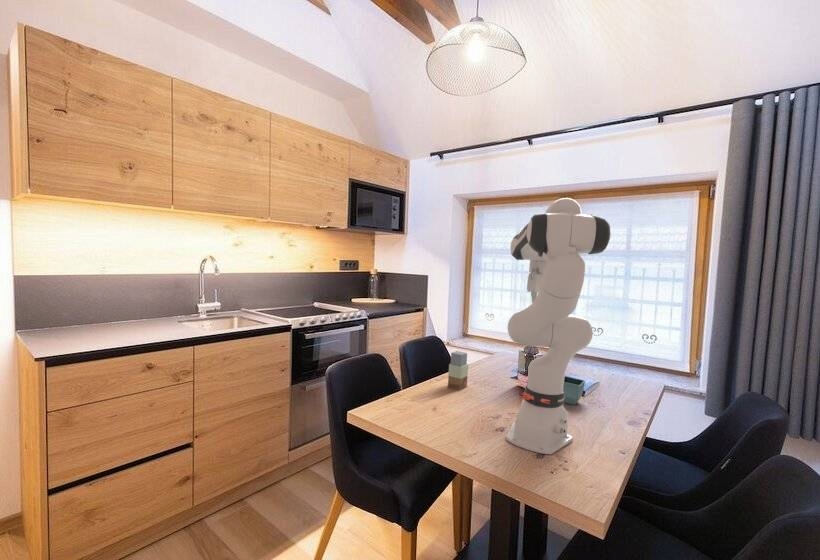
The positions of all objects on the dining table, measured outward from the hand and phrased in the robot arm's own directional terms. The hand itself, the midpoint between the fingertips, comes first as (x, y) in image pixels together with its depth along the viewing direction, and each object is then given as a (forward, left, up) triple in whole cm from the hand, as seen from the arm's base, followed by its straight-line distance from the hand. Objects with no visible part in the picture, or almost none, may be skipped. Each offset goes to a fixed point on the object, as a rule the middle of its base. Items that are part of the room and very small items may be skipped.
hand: (538, 302), depth 155 cm
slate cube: (-13, +28, -29) cm, 43 cm away
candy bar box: (+8, +4, -39) cm, 40 cm away
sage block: (-13, +28, -34) cm, 46 cm away
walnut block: (-13, +28, -39) cm, 50 cm away
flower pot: (+4, -14, -39) cm, 42 cm away
